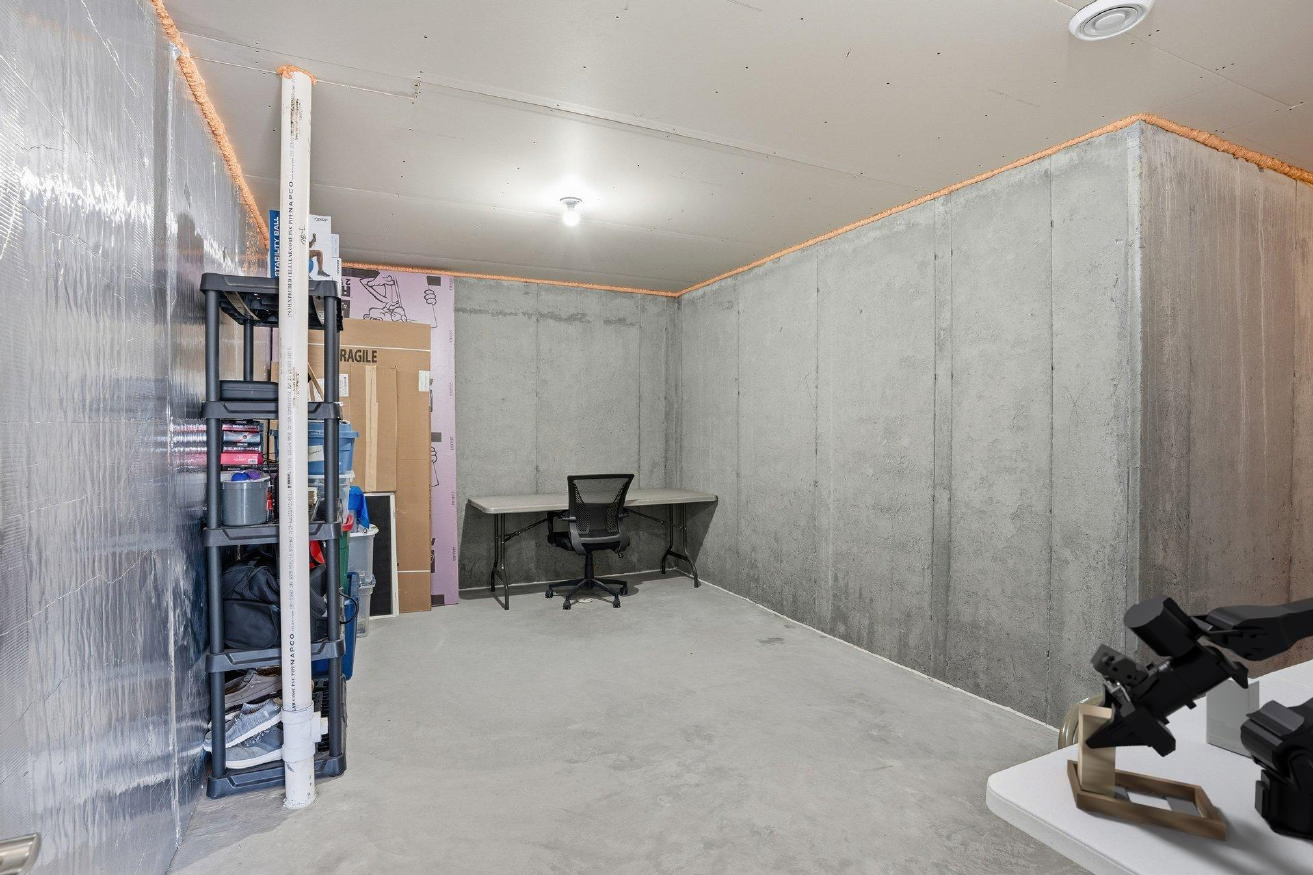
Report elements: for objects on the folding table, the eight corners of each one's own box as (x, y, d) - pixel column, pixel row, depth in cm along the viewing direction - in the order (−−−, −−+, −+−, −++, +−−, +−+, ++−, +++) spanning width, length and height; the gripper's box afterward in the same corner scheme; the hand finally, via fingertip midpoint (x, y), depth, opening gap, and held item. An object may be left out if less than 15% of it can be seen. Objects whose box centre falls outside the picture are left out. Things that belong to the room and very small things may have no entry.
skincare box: (1260, 752, 109) (1262, 680, 109) (1248, 758, 107) (1251, 685, 107) (1214, 736, 114) (1217, 667, 114) (1202, 742, 112) (1205, 672, 112)
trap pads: (1191, 801, 94) (1191, 799, 94) (1208, 832, 87) (1208, 830, 87) (1110, 784, 99) (1110, 782, 99) (1120, 812, 92) (1120, 810, 92)
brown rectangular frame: (1200, 799, 95) (1201, 785, 95) (1225, 840, 86) (1226, 825, 85) (1067, 771, 102) (1067, 759, 102) (1076, 807, 93) (1076, 793, 93)
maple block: (1109, 782, 97) (1111, 708, 97) (1114, 795, 93) (1116, 719, 93) (1077, 775, 99) (1079, 703, 99) (1081, 788, 95) (1083, 713, 95)
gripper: (1119, 614, 102) (1036, 672, 107) (1147, 651, 85) (1047, 718, 91) (1180, 673, 99) (1092, 729, 104) (1223, 724, 82) (1114, 788, 87)
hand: (1085, 738), depth 97 cm, fingers closed on maple block, 4 cm apart
